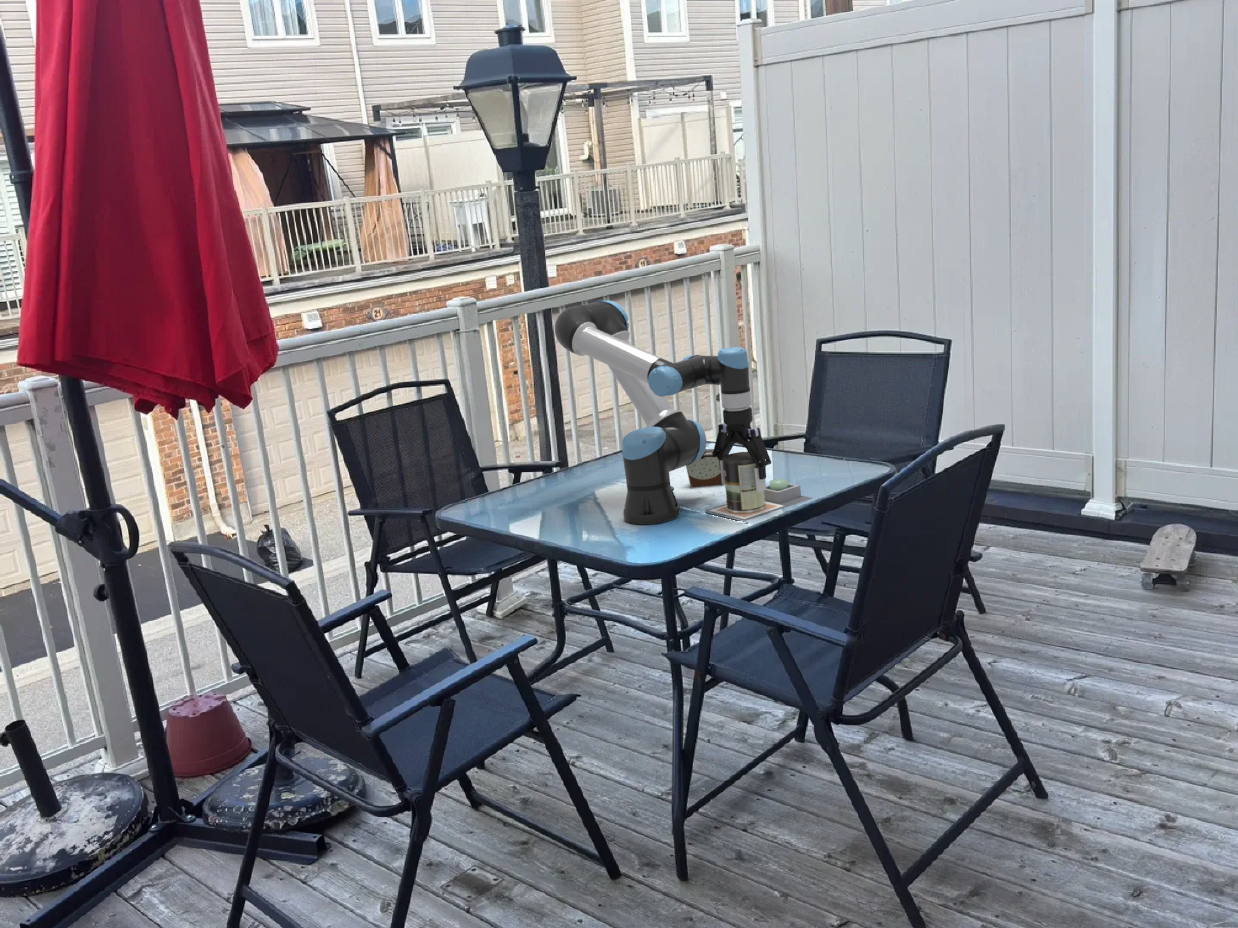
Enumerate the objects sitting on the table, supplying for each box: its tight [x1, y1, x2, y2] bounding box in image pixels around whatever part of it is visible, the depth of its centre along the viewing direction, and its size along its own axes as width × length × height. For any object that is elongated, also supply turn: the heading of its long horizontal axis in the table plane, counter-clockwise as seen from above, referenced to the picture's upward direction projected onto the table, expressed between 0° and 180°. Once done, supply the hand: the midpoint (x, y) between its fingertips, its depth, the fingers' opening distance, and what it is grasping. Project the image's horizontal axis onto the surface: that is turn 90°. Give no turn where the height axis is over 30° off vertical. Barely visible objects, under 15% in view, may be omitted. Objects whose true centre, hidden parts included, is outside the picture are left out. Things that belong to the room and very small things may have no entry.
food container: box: [685, 448, 724, 489], centre depth 318 cm, size 12×6×10 cm, turn 84°
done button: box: [769, 478, 789, 491], centre depth 292 cm, size 5×5×3 cm
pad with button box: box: [705, 482, 813, 522], centre depth 289 cm, size 24×16×4 cm, turn 125°
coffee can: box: [722, 451, 766, 514], centre depth 285 cm, size 10×10×14 cm
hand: (743, 487), depth 285 cm, fingers open, 13 cm apart
